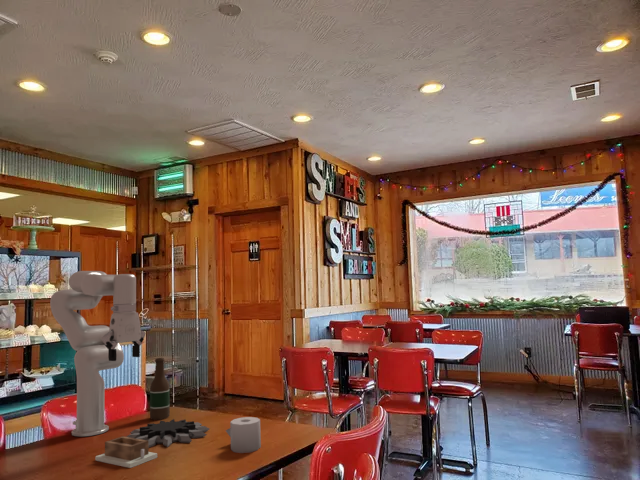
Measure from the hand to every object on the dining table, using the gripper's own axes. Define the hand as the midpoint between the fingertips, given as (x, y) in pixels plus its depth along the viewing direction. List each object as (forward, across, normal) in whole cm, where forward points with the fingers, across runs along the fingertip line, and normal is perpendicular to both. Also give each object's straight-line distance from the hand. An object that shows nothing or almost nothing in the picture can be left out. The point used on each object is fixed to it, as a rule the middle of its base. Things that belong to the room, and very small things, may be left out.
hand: (124, 358), depth 173 cm
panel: (+28, -11, -15) cm, 34 cm away
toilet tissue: (+29, +13, -42) cm, 52 cm away
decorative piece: (+29, +12, -8) cm, 32 cm away
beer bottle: (+28, +30, +16) cm, 44 cm away
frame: (+27, -11, -15) cm, 33 cm away
